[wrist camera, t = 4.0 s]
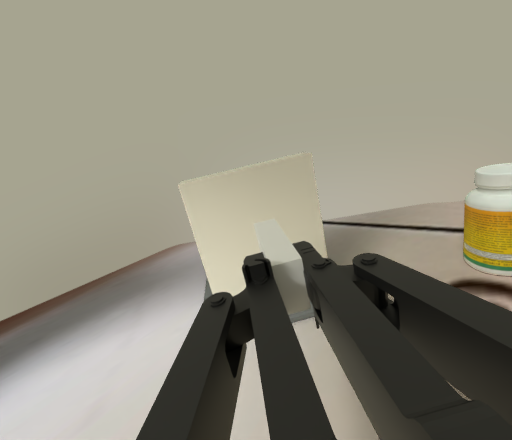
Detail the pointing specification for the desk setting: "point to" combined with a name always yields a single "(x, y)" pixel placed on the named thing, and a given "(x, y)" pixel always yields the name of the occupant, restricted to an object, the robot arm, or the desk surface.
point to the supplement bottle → (489, 221)
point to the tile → (251, 213)
